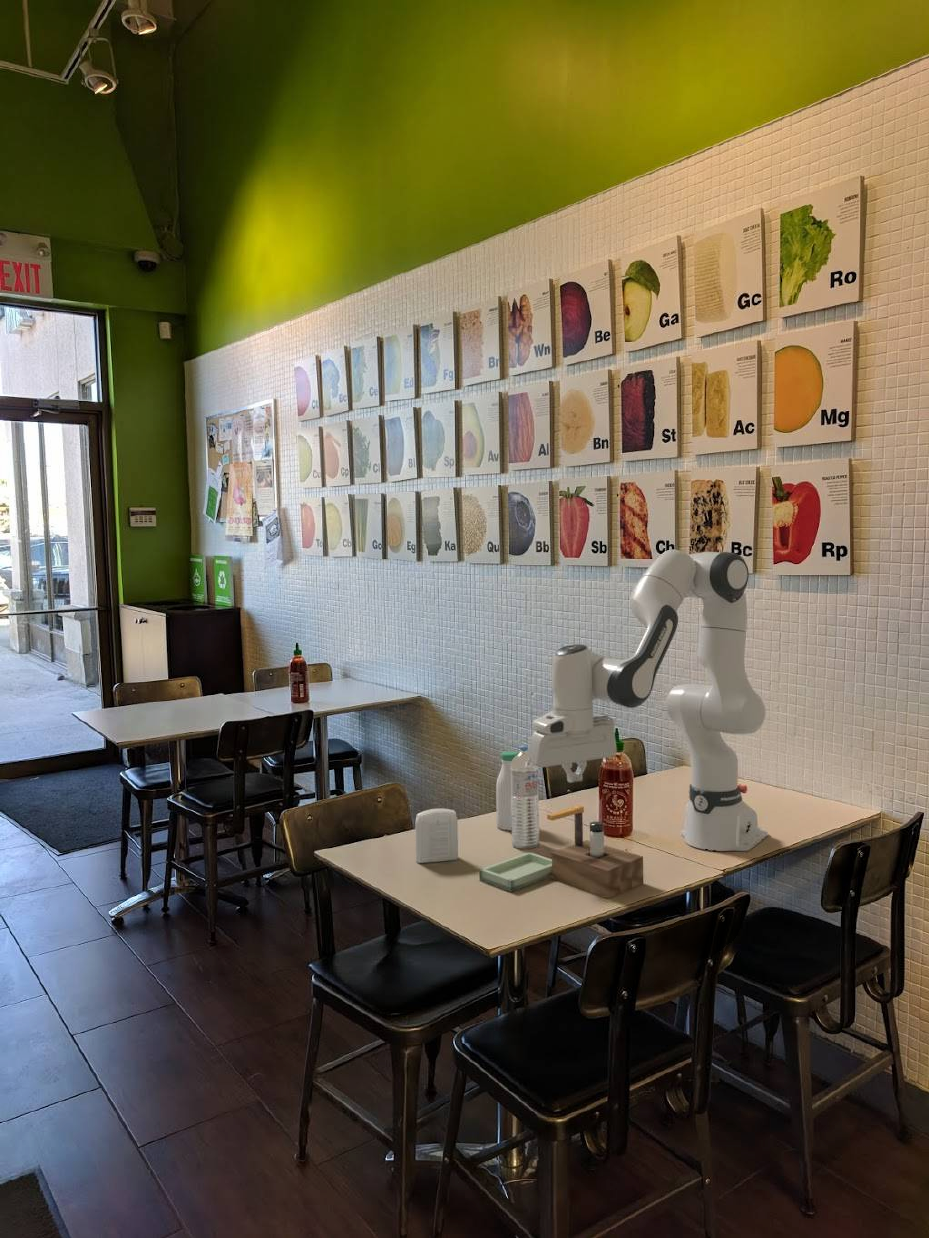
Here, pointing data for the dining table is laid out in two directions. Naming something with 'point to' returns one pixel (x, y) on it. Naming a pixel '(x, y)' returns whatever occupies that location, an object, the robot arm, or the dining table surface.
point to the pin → (596, 840)
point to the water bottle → (524, 801)
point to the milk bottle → (504, 792)
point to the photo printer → (436, 835)
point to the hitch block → (596, 867)
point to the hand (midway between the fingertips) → (574, 781)
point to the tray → (517, 872)
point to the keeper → (565, 813)
